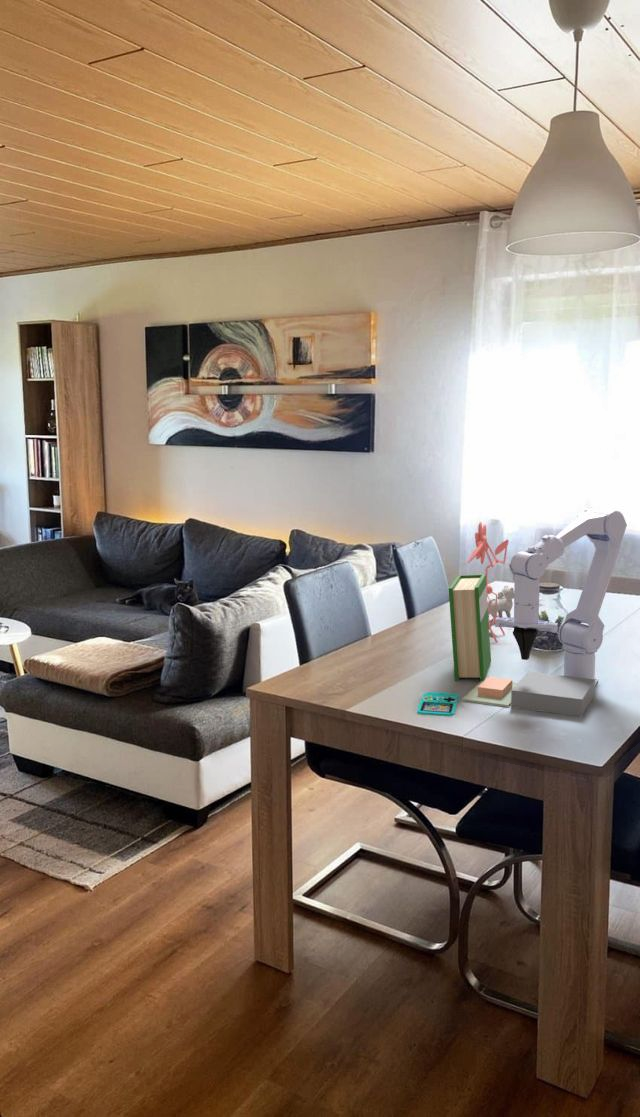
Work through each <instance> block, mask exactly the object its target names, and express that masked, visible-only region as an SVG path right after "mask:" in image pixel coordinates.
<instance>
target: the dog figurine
mask: <svg viewBox="0 0 640 1117" xmlns="http://www.w3.org/2000/svg"><path fill="white" fill-rule="evenodd" d="M489 599H490V601H491V607H490V614H489V615H490V616H491V617H492V618H493V619H494V617H495V604H496V597H494V598H493V597H492V598H489ZM513 600H514V586H512V587H511V586H510V587H509V585H504V587H503V588H502V590H501V591H498V593H497V607H496V616H497V615H499V618H504V617H503V612H505V616H506V618H512V617H511V616H512V615H511V611H512V609H513V607H514V601H513ZM487 604H488V612H489V605H490V602H489V600H487ZM493 619H492V620H493Z"/></svg>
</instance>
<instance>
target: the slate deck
mask: <svg viewBox="0 0 640 1117" xmlns="http://www.w3.org/2000/svg"><path fill="white" fill-rule="evenodd" d="M516 683H517V685H516V686H515V687H514V688H513V689H512V690H511V705H510V707H512V708H518V709H523V710H530V711H532V710H533V711H540V712H546V713H547V712H548V713H554V714H560V715H567V716H575V717H581V716H582V717H583V715H584V713H585V712H586V710H587V708H588V707H589V705H590V703H591V702H592V701H593V699H594V697H595V686H596V685H595V679H587V678H579V677H570V676H564V675H560V674H552V673H544V672H535V671H527V672H526V673H525V674H524V675H523V677H522V678H521V679H520V680H519V681H518V682H516Z"/></svg>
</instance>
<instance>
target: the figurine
mask: <svg viewBox="0 0 640 1117" xmlns="http://www.w3.org/2000/svg"><path fill="white" fill-rule="evenodd" d="M486 536H487V524H483V523H482V521H479V523H478V527H477V532H475V533H474V539H475V540H474V542H475V547H476V549H475V550H474V551H473V552H472V554H471V555H470V557H469V559H468V560H467V563H468V564H470V563H471V561H473V560H474V558H476V560H479V559H480V563H481V565H483V564H484V562H485V558H486V556H487V559H488V562H489V563H490V564H488V566H486V568H485V569H484V570H485V574H486V587H487V600H488V601H489V602H490V605H489V612H488V620H489V619H490V615H491V614H490V607H491V601H490V599H491V598H490V596H489V595H490V594H493V595H495V599H496V604H495V617H494V619H492V621H490V620H489V632H490V633H491V635H492V637H493V639H494V641H495V643H498V639H497V638H496V636H495V634H494V631H493V629H492V627H493V625H495V619H496V618H497V617H499V615H498V614H497V616H496V607H497V597H498V593H496V592H493V590H494V589H493V587H492V586H491V585H488V569H490V568H493V567H494V566H495V564H497V563H500V564H503V565H504V564H505V563H506V557H507V550H508V545H509V542H510V541H509V539H507V538H506V540H504V541H502V542H501V543H499V544H498V545H497V547H496V548H495V550H494V552H493V550H492V548H491V546H490V545H489V543H488V539H487V537H486ZM488 550H489V552H490V553H491V554H492V557H493V559H494V561H493V562H492V559H491V557H490V554H489V552H488ZM503 551H504V554H503V560H500V559H498V558H496V556H497V555H499V554H500V553H502V552H503ZM499 629H500V631H501V633H502V635H503V636H505V635H506V633H505V631H504V629H503V627H499ZM509 630H511V631H512V630H513V628H509Z"/></svg>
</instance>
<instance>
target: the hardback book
mask: <svg viewBox="0 0 640 1117" xmlns="http://www.w3.org/2000/svg"><path fill="white" fill-rule="evenodd" d="M448 599H449V600H448V602H449V614H450V628H451V630H450V631H451V644H452V658H453V675H454V681H455V682H457V681H460V678H480V681H484V680H485V679H486V677H487V674H488V670H489V668H490V665H491V662H492V656H491V655H492V652H491V639H490V638H491V637H490V636H491V635H490V629H489V621H490V620H488V604H487V601H488V597H487V587H486V573H485V574H484V573H483V574H482V573H481V574H479V573H478V574H458V575H457V576H456V577H455V579H454V580H453V581H452V583H451V584H450V586H449V587H448Z"/></svg>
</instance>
